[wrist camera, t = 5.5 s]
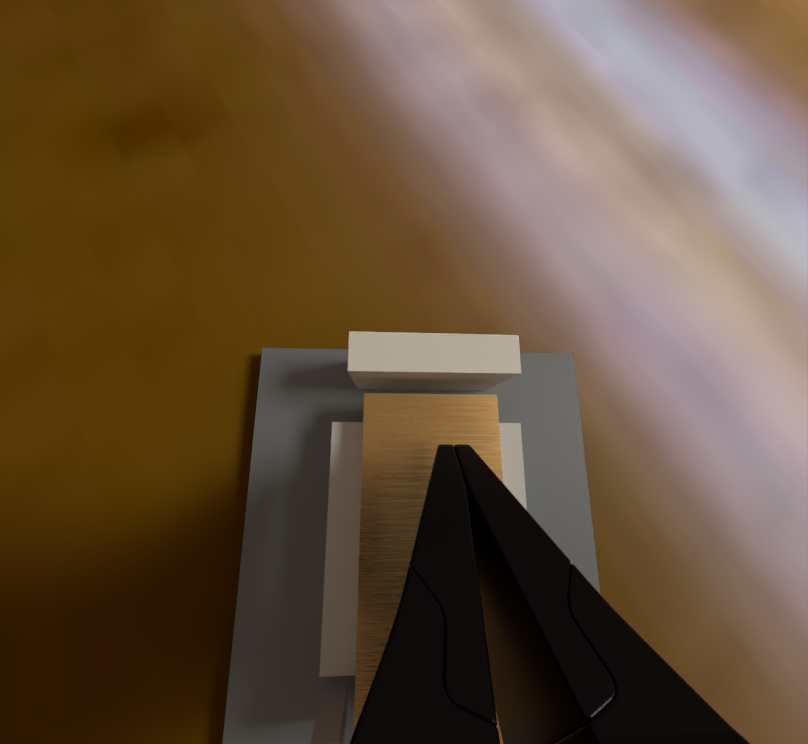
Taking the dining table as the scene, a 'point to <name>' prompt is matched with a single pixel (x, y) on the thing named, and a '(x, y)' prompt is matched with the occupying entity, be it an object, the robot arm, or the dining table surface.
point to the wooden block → (405, 499)
